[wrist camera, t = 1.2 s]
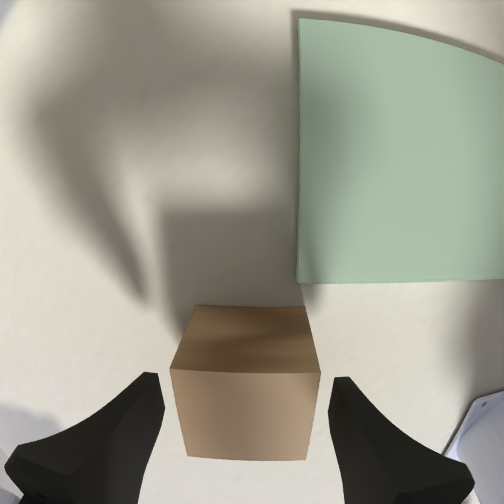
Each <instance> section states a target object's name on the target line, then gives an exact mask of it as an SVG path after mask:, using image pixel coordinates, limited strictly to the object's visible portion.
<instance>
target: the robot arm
mask: <svg viewBox="0 0 504 504" xmlns="http://www.w3.org/2000/svg"><path fill="white" fill-rule="evenodd" d="M164 411H165V405H164V400H163V396H162V391H161V387H160V382H159V377H158V373H150V372H143V373H142V374H141V375H140V376H139V377H138V378H137V379H135V380H134V381H133V382H132V383H131V384H130V385H129V386H128V387H127V388H126V389H124V390H123V391H122V392H121V393H120V394H119V395H117V396H116V397H115V398H114V399H113V400H112V401H110V402H109V403H108V404H106V405H105V406H104V407H103V408H101V409H100V410H99V411H97V412H96V413H94V414H93V415H91V416H90V417H88V418H87V419H85V420H83V421H82V422H80V423H78V424H76V425H74V426H72V427H70V428H68V429H66V430H64V431H62V432H60V433H57V434H55V435H52V436H50V437H47V438H44V439H41V440H37V441H34V442H30V443H25V444H21V445H18V446H17V447H16V449H15V450H14V452H13V453H12V455H11V456H10V458H9V459H8V461H7V462H6V464H5V466H4V468H5V471H6V473H7V475H8V476H9V477H10V479H11V480H12V481H13V482H14V483H15V485H16V486H17V487H18V488H19V489H20V490H21V492H22V493H23V494H24V495H23V497H22V499H20V498H19V497H18V496H16V495H15V494H13V493H11V492H10V491H8V490H6V489H4V488H2V487H0V504H138V499H139V494H140V489H141V484H142V480H143V476H144V472H145V469H146V466H147V463H148V461H149V458H150V455H151V453H152V450H153V447H154V445H155V442H156V439H157V437H158V434H159V431H160V428H161V425H162V420H163V416H164ZM328 418H329V427H330V434H331V438H332V442H333V445H334V449H335V453H336V457H337V461H338V465H339V469H340V473H341V478H342V483H343V492H344V501H345V504H461V503H462V501H463V500H464V499H465V498H466V497H467V496H468V495H469V494H470V492H471V491H472V489H474V491H475V493H476V495H477V497H478V500H479V502H480V504H504V391H501V392H498V393H494V394H491V395H487V396H484V397H480V398H477V399H476V400H475V401H474V402H473V403H472V405H471V407H470V409H469V411H468V413H467V415H466V417H465V419H464V421H463V423H462V425H461V426H460V428H459V430H458V432H457V434H456V436H455V437H454V439H453V441H452V443H451V444H450V446H449V448H448V449H447V451H446V453H445V454H444V456H443V455H441V454H439V453H437V452H435V451H433V450H431V449H429V448H427V447H425V446H424V445H422V444H420V443H419V442H417V441H415V440H414V439H412V438H411V437H409V436H408V435H406V434H405V433H404V432H403V431H401V430H400V429H399V428H397V427H396V426H395V425H394V424H392V423H391V422H390V421H389V420H388V419H387V418H386V417H385V416H384V415H383V414H382V413H381V412H380V411H379V410H378V409H377V408H376V407H375V406H374V405H373V404H372V403H371V402H370V401H369V400H368V398H367V397H366V396H365V395H364V394H363V393H362V391H361V390H360V389H359V388H358V387H357V385H356V384H355V383H354V382H353V381H352V379H351V378H350V377H334V382H333V388H332V393H331V398H330V404H329V409H328Z"/></svg>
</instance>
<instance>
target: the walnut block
mask: <svg viewBox="0 0 504 504" xmlns="http://www.w3.org/2000/svg"><path fill="white" fill-rule="evenodd" d="M169 369H170V375H171V380H172V386H173V391H174V397H175V402H176V407H177V412H178V417H179V421H180V426H181V431H182V435H183V439H184V444H185V448H186V452H187V456H191V457H201V458H212V459H226V460H248V461H295V460H306V457H307V451H308V446H309V441H310V436H311V430H312V425H313V419H314V413H315V407H316V401H317V395H318V389H319V382H320V375H321V371H320V367H319V362H318V358H317V354H316V349H315V345H314V341H313V337H312V333H311V328H310V324H309V320H308V316H307V312H306V308H305V307H250V306H208V305H196V307H195V309H194V312H193V314H192V316H191V319H190V321H189V323H188V326H187V328H186V330H185V333H184V335H183V337H182V340H181V342H180V345H179V347H178V349H177V352H176V354H175V356H174V359H173V361H172V364H171V366H170V368H169Z"/></svg>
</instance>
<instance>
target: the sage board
mask: <svg viewBox="0 0 504 504" xmlns="http://www.w3.org/2000/svg"><path fill="white" fill-rule="evenodd" d="M297 26H298V56H299V207H298V240H297V265H296V279H297V283H298V284H345V283H408V282H443V281H471V280H493V279H504V64H502V63H499V62H497V61H494V60H492V59H489V58H487V57H484V56H481V55H479V54H476V53H473V52H470V51H467V50H465V49H462V48H458V47H455V46H452V45H449V44H446V43H442V42H439V41H435V40H432V39H428V38H424V37H420V36H416V35H412V34H408V33H403V32H399V31H394V30H389V29H384V28H379V27H373V26H367V25H360V24H353V23H346V22H338V21H328V20H318V19H304V18H299V21H298V25H297Z"/></svg>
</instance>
